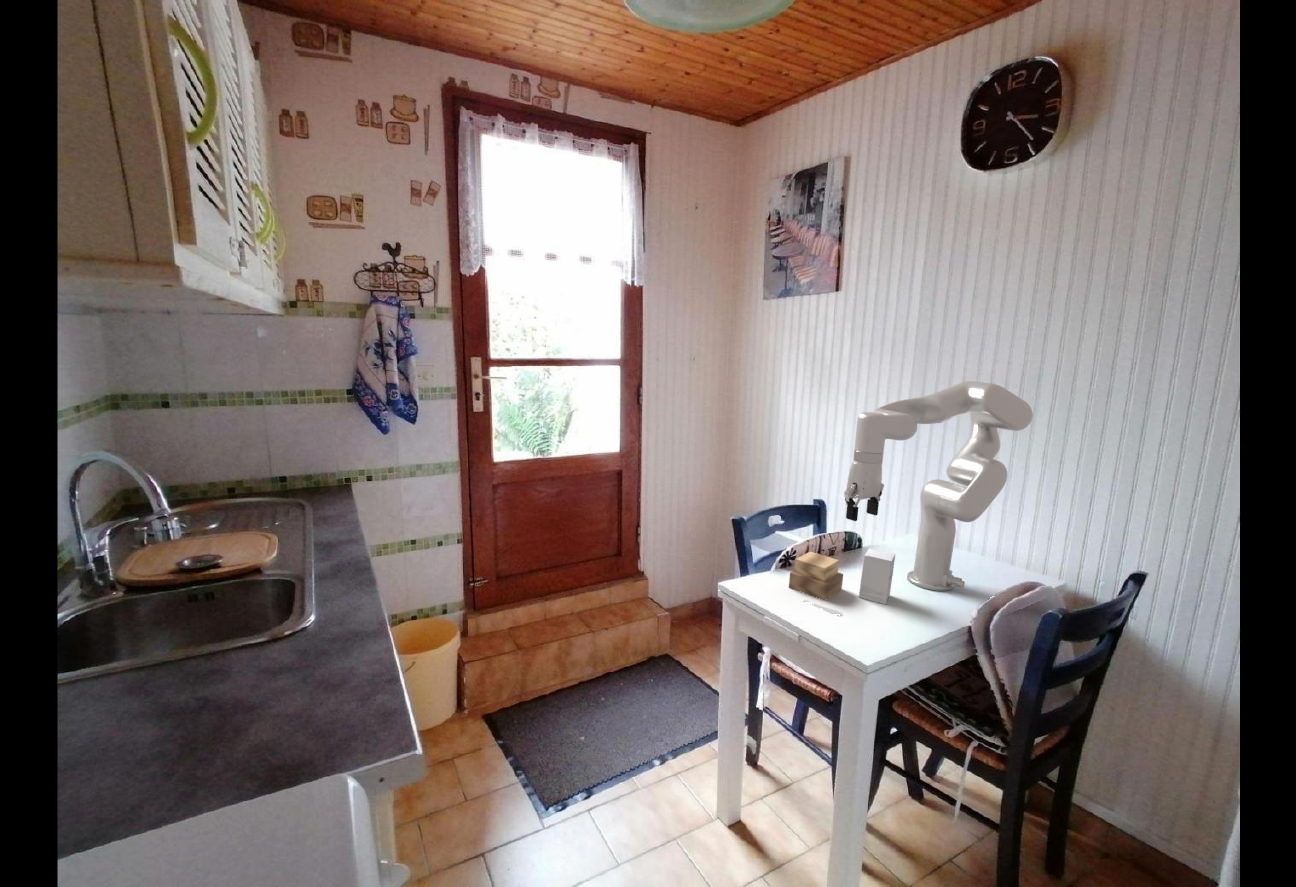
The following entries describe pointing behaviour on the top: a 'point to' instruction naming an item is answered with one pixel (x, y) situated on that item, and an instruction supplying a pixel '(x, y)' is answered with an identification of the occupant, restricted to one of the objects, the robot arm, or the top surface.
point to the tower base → (816, 585)
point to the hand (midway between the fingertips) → (861, 516)
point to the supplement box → (877, 575)
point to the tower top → (816, 566)
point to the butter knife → (827, 609)
